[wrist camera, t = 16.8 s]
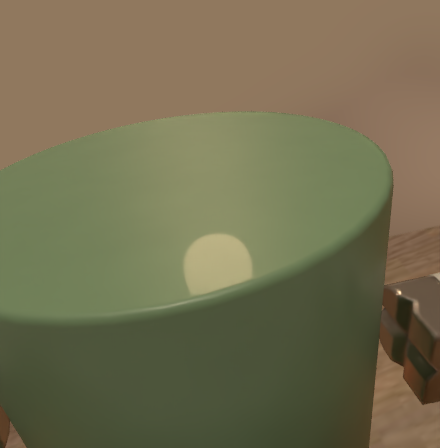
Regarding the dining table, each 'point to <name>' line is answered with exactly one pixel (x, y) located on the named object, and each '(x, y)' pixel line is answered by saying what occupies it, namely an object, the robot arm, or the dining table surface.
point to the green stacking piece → (195, 285)
